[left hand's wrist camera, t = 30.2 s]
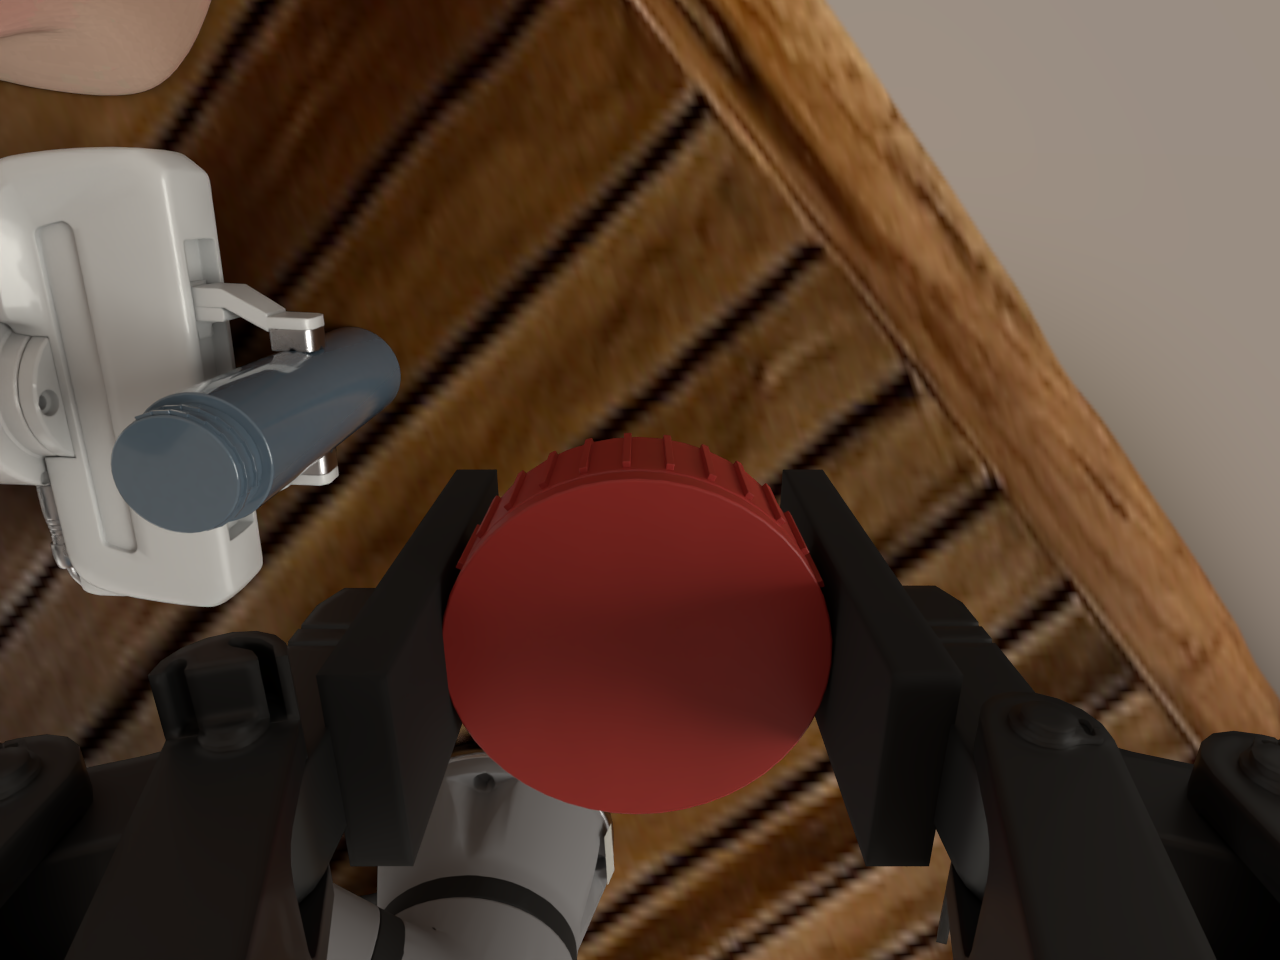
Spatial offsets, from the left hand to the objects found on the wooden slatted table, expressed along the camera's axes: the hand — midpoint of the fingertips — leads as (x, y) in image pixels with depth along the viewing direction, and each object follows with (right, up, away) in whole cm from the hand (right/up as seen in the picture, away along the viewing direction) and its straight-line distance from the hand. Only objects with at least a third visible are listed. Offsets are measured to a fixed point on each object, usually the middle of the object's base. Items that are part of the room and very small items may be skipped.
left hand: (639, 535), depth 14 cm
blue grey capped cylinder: (-15, +7, +25) cm, 30 cm away
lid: (0, -1, -4) cm, 4 cm away
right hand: (-14, +5, +19) cm, 24 cm away
